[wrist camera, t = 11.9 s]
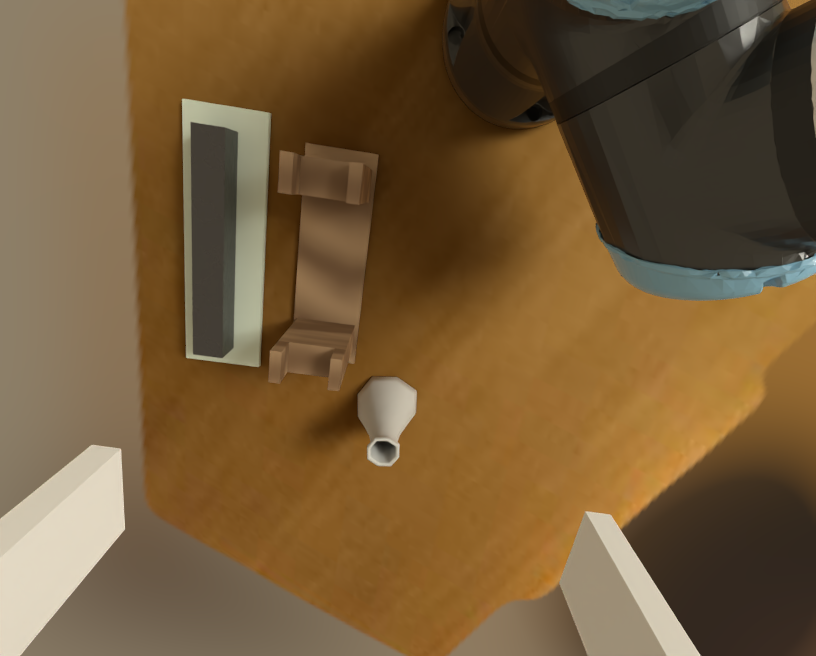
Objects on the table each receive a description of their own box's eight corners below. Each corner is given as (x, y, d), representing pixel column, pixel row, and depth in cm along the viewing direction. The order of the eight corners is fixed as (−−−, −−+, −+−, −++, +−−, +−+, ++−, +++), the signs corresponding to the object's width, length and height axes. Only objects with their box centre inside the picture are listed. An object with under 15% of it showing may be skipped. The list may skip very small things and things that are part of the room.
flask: (348, 419, 50) (335, 472, 40) (367, 366, 48) (358, 409, 38) (405, 436, 51) (405, 493, 41) (426, 385, 49) (432, 432, 39)
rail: (205, 126, 39) (190, 121, 37) (238, 132, 40) (225, 127, 37) (205, 344, 46) (192, 354, 43) (233, 348, 46) (222, 358, 43)
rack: (306, 143, 41) (275, 127, 31) (378, 154, 41) (371, 142, 31) (292, 353, 47) (263, 396, 37) (354, 361, 48) (341, 406, 38)
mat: (185, 99, 39) (182, 98, 39) (271, 113, 40) (269, 112, 39) (188, 355, 47) (185, 357, 47) (260, 365, 48) (258, 367, 47)
